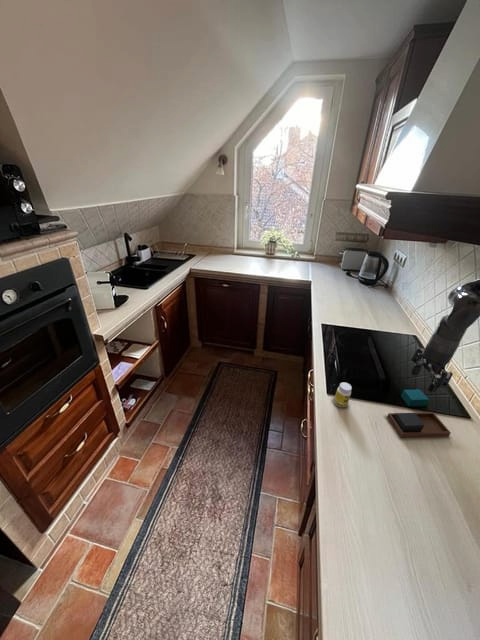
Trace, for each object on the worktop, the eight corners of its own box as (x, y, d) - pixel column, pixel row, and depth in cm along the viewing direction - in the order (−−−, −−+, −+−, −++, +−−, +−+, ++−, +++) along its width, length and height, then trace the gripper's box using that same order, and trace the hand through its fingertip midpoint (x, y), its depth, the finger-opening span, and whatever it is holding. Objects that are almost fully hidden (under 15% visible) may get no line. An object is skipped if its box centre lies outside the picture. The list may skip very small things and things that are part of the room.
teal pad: (416, 395, 98) (420, 389, 96) (425, 406, 94) (429, 399, 92) (400, 396, 98) (403, 389, 96) (408, 406, 93) (412, 399, 92)
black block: (410, 419, 88) (414, 412, 86) (420, 432, 84) (424, 425, 82) (392, 419, 87) (396, 413, 86) (401, 432, 83) (405, 425, 81)
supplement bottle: (342, 409, 91) (348, 393, 87) (331, 401, 95) (336, 385, 90) (349, 403, 94) (355, 386, 90) (338, 395, 97) (343, 379, 93)
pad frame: (430, 416, 90) (433, 412, 89) (448, 436, 83) (451, 432, 82) (386, 417, 89) (388, 413, 88) (400, 438, 82) (402, 434, 81)
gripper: (470, 360, 77) (446, 397, 85) (437, 334, 89) (419, 369, 97) (447, 360, 76) (425, 398, 85) (416, 334, 89) (400, 369, 97)
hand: (422, 382), depth 91 cm, fingers open, 8 cm apart
